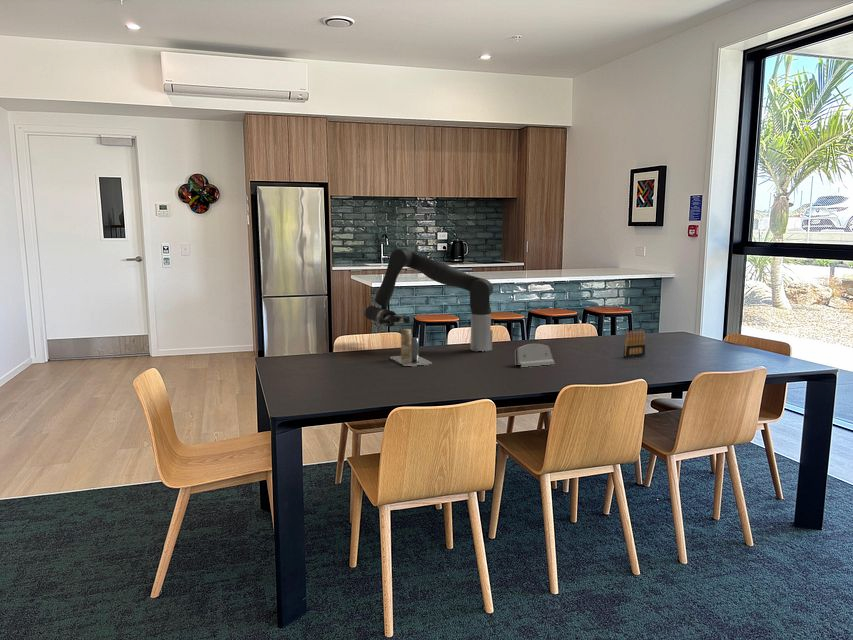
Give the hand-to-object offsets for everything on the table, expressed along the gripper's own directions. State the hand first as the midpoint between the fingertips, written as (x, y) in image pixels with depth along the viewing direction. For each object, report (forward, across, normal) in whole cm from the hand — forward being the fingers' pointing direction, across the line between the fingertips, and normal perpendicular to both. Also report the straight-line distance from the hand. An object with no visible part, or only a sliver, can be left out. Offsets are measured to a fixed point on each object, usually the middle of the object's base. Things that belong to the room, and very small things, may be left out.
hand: (398, 321), depth 279 cm
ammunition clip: (+43, +96, +18) cm, 107 cm away
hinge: (+41, +44, +17) cm, 63 cm away
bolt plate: (+16, -1, +15) cm, 22 cm away
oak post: (+11, -1, +14) cm, 18 cm away
